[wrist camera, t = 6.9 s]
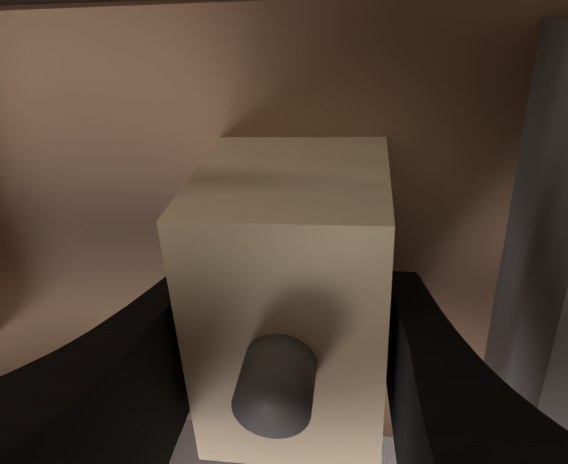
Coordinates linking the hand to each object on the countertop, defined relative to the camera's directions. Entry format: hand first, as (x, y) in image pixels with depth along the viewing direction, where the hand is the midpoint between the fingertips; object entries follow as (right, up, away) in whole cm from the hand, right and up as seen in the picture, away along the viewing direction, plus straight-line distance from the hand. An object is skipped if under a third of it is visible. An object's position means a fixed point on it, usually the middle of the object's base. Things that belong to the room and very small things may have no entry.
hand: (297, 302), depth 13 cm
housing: (0, +1, +1) cm, 2 cm away
